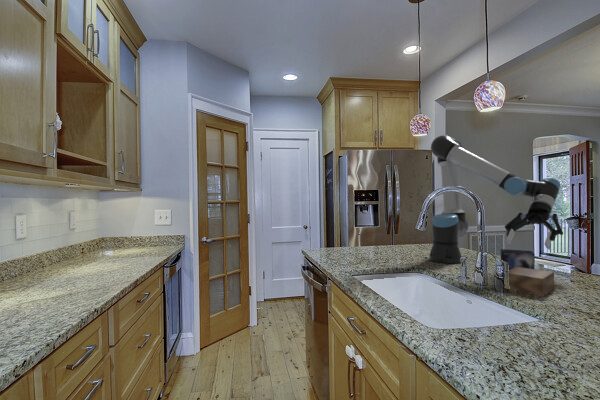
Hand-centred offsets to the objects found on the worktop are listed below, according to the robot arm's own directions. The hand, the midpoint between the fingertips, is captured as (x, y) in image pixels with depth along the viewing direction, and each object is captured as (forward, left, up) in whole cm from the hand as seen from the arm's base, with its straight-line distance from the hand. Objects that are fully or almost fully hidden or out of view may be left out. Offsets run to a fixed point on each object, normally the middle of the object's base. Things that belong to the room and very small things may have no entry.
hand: (526, 244), depth 125 cm
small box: (0, -8, -13) cm, 15 cm away
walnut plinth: (+9, -22, -13) cm, 27 cm away
